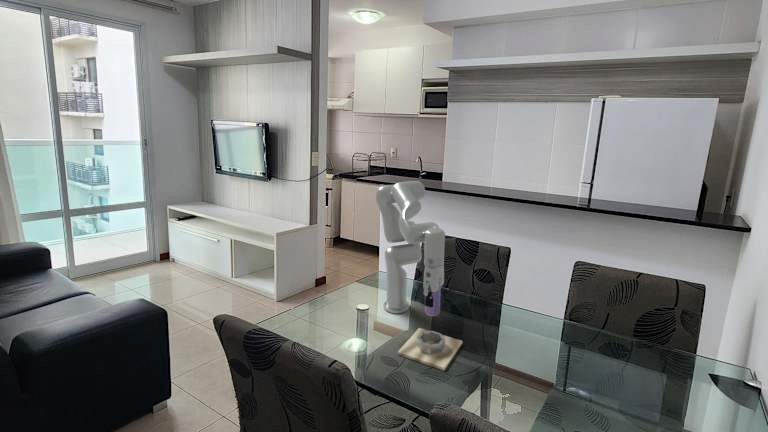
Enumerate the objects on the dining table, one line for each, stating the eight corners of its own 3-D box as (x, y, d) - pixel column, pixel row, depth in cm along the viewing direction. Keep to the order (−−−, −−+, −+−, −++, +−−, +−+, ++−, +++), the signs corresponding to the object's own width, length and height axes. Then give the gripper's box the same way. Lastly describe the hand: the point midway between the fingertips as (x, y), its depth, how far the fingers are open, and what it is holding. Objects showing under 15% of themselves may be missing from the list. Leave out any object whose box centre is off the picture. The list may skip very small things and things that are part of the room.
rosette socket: (397, 354, 166) (397, 343, 165) (419, 330, 183) (419, 320, 181) (444, 370, 156) (444, 359, 155) (462, 343, 173) (463, 333, 172)
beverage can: (440, 316, 161) (441, 281, 157) (425, 316, 162) (426, 281, 157) (438, 308, 167) (440, 274, 163) (424, 308, 167) (424, 274, 163)
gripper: (434, 270, 149) (432, 315, 154) (451, 254, 163) (449, 295, 168) (415, 266, 152) (414, 310, 158) (433, 251, 167) (432, 291, 172)
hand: (432, 302), depth 163 cm, fingers closed on beverage can, 5 cm apart
